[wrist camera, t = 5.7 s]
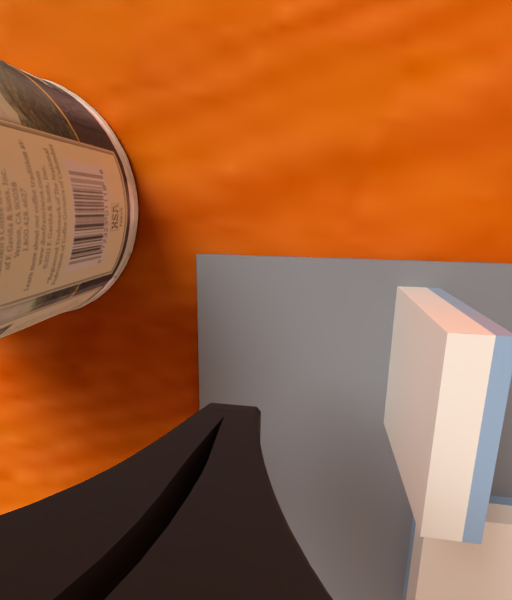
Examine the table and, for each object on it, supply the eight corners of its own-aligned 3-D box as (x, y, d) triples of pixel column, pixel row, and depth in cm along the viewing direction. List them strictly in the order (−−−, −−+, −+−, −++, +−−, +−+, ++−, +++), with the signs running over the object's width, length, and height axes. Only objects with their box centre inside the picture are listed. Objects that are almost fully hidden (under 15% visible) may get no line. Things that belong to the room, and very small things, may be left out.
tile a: (410, 630, 17) (561, 654, 16) (426, 514, 15) (592, 534, 15) (402, 595, 18) (539, 615, 18) (416, 487, 17) (565, 503, 16)
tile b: (383, 422, 17) (420, 536, 11) (397, 286, 15) (447, 333, 9) (422, 426, 16) (481, 544, 11) (440, 287, 15) (518, 337, 9)
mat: (205, 573, 20) (203, 580, 20) (198, 253, 17) (196, 254, 16) (557, 627, 18) (562, 636, 18) (647, 267, 14) (656, 269, 14)
